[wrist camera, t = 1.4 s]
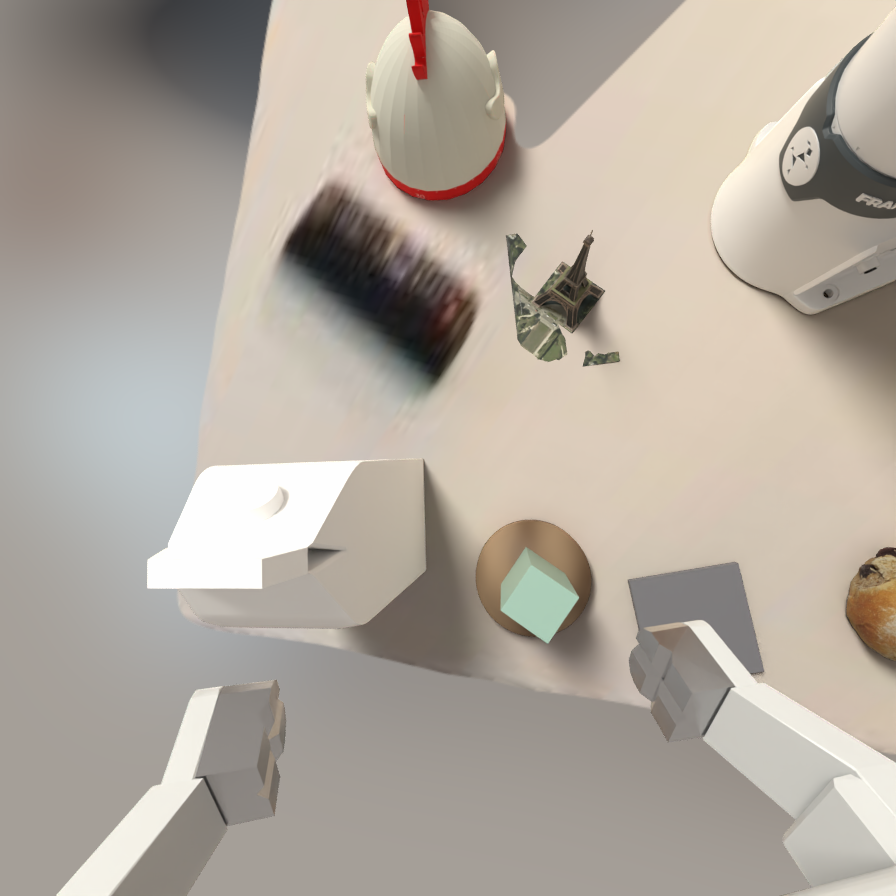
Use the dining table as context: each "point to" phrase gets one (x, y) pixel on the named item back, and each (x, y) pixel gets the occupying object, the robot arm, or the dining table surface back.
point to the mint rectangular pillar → (537, 595)
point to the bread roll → (875, 603)
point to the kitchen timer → (435, 106)
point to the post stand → (544, 543)
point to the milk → (297, 543)
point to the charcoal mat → (701, 606)
